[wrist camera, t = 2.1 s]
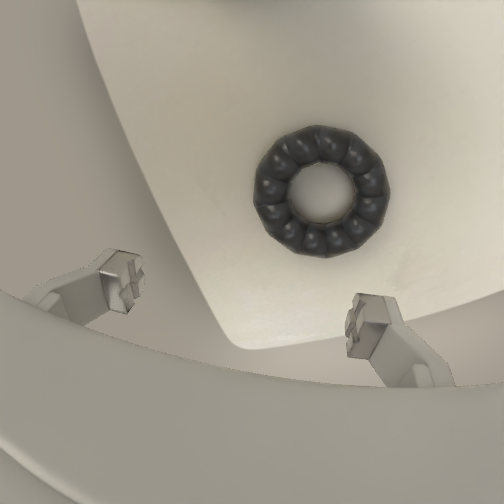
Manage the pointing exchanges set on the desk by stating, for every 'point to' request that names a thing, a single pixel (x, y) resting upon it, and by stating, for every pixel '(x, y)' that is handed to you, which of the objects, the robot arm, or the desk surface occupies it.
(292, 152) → the ring
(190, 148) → the desk surface
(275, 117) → the desk surface
